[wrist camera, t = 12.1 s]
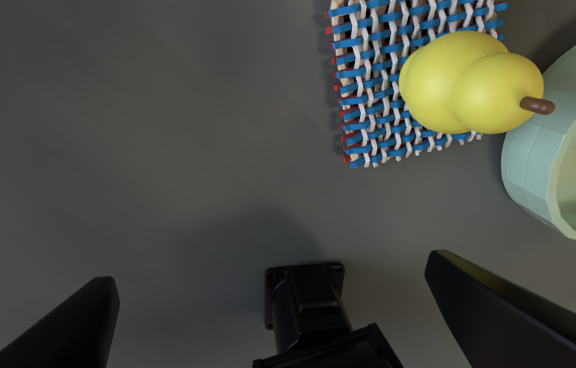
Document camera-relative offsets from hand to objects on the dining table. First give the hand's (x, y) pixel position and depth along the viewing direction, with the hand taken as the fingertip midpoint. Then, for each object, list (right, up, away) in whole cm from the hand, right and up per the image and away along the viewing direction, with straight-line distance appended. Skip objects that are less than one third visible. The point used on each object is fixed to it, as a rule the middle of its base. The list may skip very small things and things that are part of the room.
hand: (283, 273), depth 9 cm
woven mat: (+8, +10, +12) cm, 17 cm away
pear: (+8, +9, +10) cm, 15 cm away
